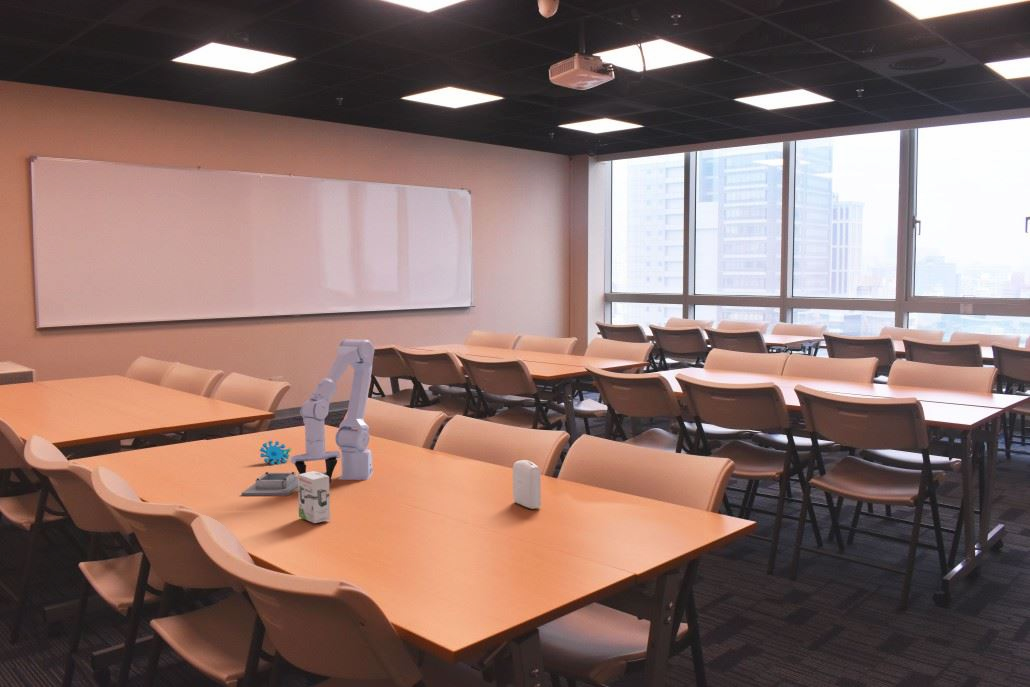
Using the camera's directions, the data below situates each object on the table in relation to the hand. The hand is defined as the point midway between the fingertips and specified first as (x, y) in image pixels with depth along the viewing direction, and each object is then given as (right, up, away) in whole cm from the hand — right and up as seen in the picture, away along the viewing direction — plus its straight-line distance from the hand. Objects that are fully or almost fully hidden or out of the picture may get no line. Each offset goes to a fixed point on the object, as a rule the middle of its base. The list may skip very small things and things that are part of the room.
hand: (316, 484), depth 248 cm
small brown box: (0, -1, 0) cm, 1 cm away
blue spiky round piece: (-21, 0, +32) cm, 38 cm away
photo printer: (+63, -3, -20) cm, 66 cm away
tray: (-13, -1, +3) cm, 13 cm away
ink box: (+7, -4, -31) cm, 32 cm away
